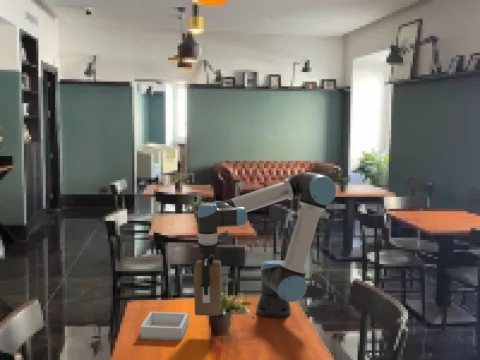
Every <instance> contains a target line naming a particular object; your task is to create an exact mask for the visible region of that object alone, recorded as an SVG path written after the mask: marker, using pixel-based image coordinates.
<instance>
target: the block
mask: <svg viewBox="0 0 480 360" xmlns="http://www.w3.org/2000/svg"><path fill="white" fill-rule="evenodd" d="M193 267H194V268H193V276H194V277H193V283H194V284H193V285H194V289H193V292H194V314H195V316H212V317H213V316H220V315H221V311H220V303H221V304H222V261H221V260H219V259H213V262H212V265H209V286H210V303H203V287H201V285H202V259H199V260H196V263H195V265H194V266H193Z"/></svg>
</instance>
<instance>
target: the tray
mask: <svg viewBox="0 0 480 360" xmlns="http://www.w3.org/2000/svg"><path fill="white" fill-rule="evenodd" d="M189 314H190V313H189V312H170V311H169V312H166V311H149V313H148V315H147V316H146V318H145V319H144V320H143V322H142V324H141V325H140V328H139V330H140V331H139V333H140V334H139V337H140V338H139V339H140V340H153V341H154V340H156V341H158V340H159V341H175V342H176V341H178V342H182V340H183V339H184V337H185V335H186V332H187V330H188V327H189V323H190V317H189V316H190V315H189Z"/></svg>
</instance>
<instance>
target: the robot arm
mask: <svg viewBox="0 0 480 360" xmlns="http://www.w3.org/2000/svg"><path fill="white" fill-rule="evenodd" d="M336 194H337V187H336V184H335V181H333V179H331V177H329V176H327V175H325V174H319V173H313V172H312V171H311V172H310V171H307V172H302V173H298V174H296V175H292V176H289V177H286V178H283V179H282V181H281V182H278V183H276V184H272V185H270V186H266V187H263V188H261V189H257V190H254V191H251V192H248V193H245V194H242V195H239V196H235V197H233V198H230V199H226V200H222V201H221V200H217V201H214V202H211V203H210V202H206V203H200V204H199V205H198V208H197V227H198V228H197V229H198V230H197V231H198V234H196V237H197V238H198V246H197V247H198V248H197V251H198V253H199V254H200V255H203V257H202V259H201V260H202V285H201V287H203V303H210V286H209V265H212V262H213V260H215V259H214V255H215V254H217V253H218V242H219V241H218V228H226V227H227V228H231V227H241V226H245V225H246V224H247V221H248V212H251V211H255V210H258V209H261V208H264V207H267V206H270V205H273V204H276V203H278V202H281V201H284V200H289V201H292V200H295V199H299V200H298V203H299V204H300V209H299V213H298V215H297V219H296V223H295V226H294V229H293V232H292V235H291V239H290V242H289V246H288V249H287V252H286V256H285V258H284V260H281V259H280V260H279V259H277V260H274V259H273V260H266V261H263V262H262V263H261V266H260V295H259V299H258V300H257V304H256V313H257V315H259V316H262V317H265V318H272V319H273V318H274V319H278V318H279V319H280V318H284V317H287V316H289V315H290V314H291V305H290V303H294V302H297V301H299V300H300V299H302V298H303V297H304V295H306V292H307V289H308V287H307V286H308V285H307V282H306V280H305V279H306V276H307V271H306V268H305V267H306V266H305V265H306V263H307V259H308V256H309V253H310V250H311V247H312V243H313V240H314V237H315V234H316V230H317V226H318V223H319V219H320V217H321V213H323V212H324V211H326V209H327V206H328V205H329V204H330V203H332V202H333V201H334V199H335V197H336Z"/></svg>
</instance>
